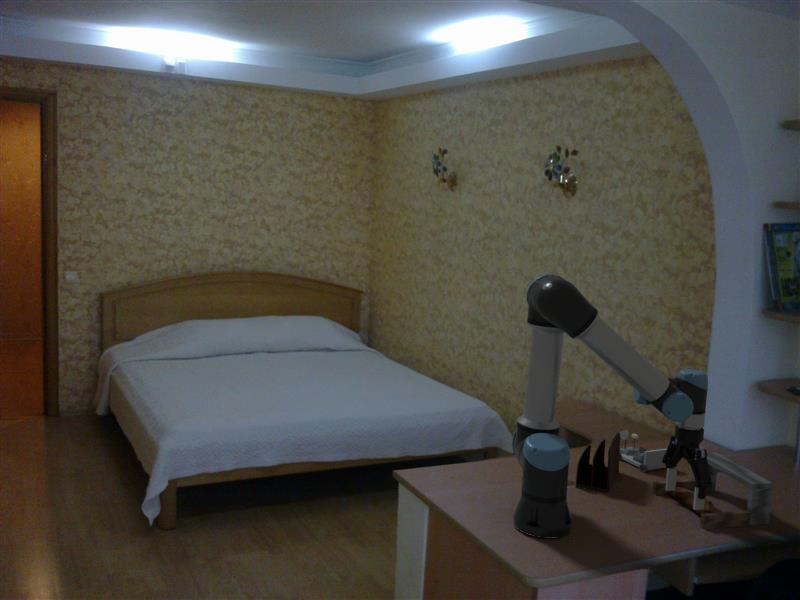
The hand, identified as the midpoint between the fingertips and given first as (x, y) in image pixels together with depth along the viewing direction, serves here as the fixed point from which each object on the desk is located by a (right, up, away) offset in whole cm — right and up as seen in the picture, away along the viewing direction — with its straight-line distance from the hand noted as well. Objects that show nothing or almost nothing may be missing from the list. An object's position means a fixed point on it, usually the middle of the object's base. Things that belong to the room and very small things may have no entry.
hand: (683, 499), depth 218 cm
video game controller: (+18, +2, +39) cm, 43 cm away
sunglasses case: (+5, -4, +2) cm, 6 cm away
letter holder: (-19, 0, +22) cm, 29 cm away
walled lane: (+8, -3, +2) cm, 8 cm away
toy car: (0, +2, +39) cm, 39 cm away
